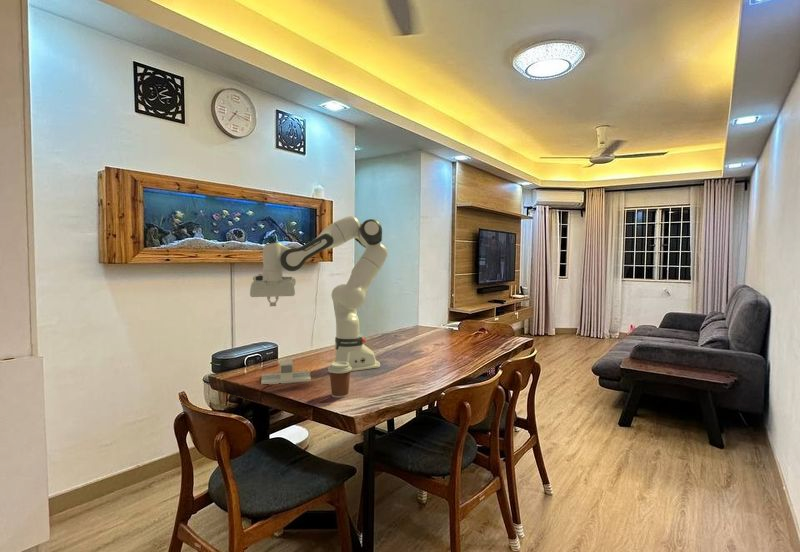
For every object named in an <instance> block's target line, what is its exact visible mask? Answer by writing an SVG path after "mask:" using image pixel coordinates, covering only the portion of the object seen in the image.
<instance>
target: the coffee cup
mask: <svg viewBox="0 0 800 552" xmlns="http://www.w3.org/2000/svg"><path fill="white" fill-rule="evenodd" d="M327 371H328V372H329V380H330V391H331V397H333V398H336V399H337V398H340V399H342V398H346V397H348V396H349V393H350V380H351V379H350V376H351V372H353V371H352V367H350V365H349V363H348V362H334V361H333V362H332V363H330V366H329V367H327Z"/></svg>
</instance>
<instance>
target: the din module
mask: <svg viewBox="0 0 800 552" xmlns="http://www.w3.org/2000/svg"><path fill="white" fill-rule="evenodd" d="M293 364H294V363H293V358H292V357H290V358H289V357H287V358H279V373H280V380H289V379H293V372H294V371H293V370H294V365H293Z"/></svg>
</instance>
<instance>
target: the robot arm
mask: <svg viewBox="0 0 800 552" xmlns="http://www.w3.org/2000/svg"><path fill="white" fill-rule="evenodd" d="M352 239H354V240H355V241H356V242H357V243H359V245H361V246H362V247H363V248H365V250H364V252H363V253H362V255H361V256H360V258H359V259H358V261H357V262H356V263H355V265H354V266H353V268H352V269H351V272H350V273H351V274H350V276H349V278H348V281H347V283H346V284H345V283H344V284H339V285H337V286H335V287H333V289H332V292H331V299H332V302H333V303H332V304H333V309H334V316H335V331H336V332H335V335H336V336H335V339H334V348H335V354H334V355H335V356H334V360H333V362H348V363H349V365H350V367H352V371H351V372H355V371H363V370H369V369H377V368H380V367H381V363H380V361H378V360H377V359H376V356H375V355H376V354H375V353H374V351H373V350H372V349H371V348H370V347H368V346H366V342H367V340H366V338H363V337H362V336H360V319H359V316H358V312H357V309H360V308H361V307H363V306H364V304H365V303H366V296H367V294H368V291H369V289H370V286H371V284H372V282H373V281H374V279H375V278H376V276H377V275H378V273H379V271H380V270H381V269H382V267H383V265H384V263H385V262H386V259H387V257H388V254H389V252H388V249H387V247H386V246H385V245H383V243H381V242H382V241H383V228H382V224H381V223H380V222H379V221H377V220H376V219H373V218H371V219H366V220H365V221H363V222H362V223H361V222H360V221H359V219H358V218H357V217H356V216H354V215H348V216H345V217H342V218H341V219H338V220H336V221H334V222H332V223H331V224H329V225H328V226H326V227H325V228H324V229H323V230H321V232H320V233H319V234H318V236H316V237H315V238H314V239H313V240H311V241H309V242H307V243H306V244H304V245H302V246H300V247H297V248H290V247H288V246H286V245H284V244H282V243H281V242H280V241H275V242H269V243H266V244H265V245H264V246H263V249H262V264H263V268H262V273H259V274H257V275H254V276H252V282H251V284H250V290H249V295H250V297H251V298H266V299H267V301H268V302H269V307H277V302H278V301H279V299H280V297H294V296H295V295H296V290H295V289H296V288H295V287H296V282H297V281H296V279H295V277H293V276H283V269H284V270H286V271H288V272H296V271H298V270H299V269H301V268H302V267H303V265H304V264H305V262H306V261H308V260H309V259H310V258H312V257H314V256H316V255H317V254H319V253H320V252H323V251H325V250H330V249H334V248H337V247H339V246H342V245H344V244H345V243H346V242H349V241H350V240H352ZM271 297H275V301H274V302H273V301H272V302H271Z"/></svg>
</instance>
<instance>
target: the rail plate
mask: <svg viewBox="0 0 800 552" xmlns="http://www.w3.org/2000/svg"><path fill="white" fill-rule="evenodd" d="M260 380H261V382H260V383H261V386H263V385H262V384H269V385H278V384H279V383H281V384H291V383H292V384H293V383H302V382H303V383H304V382H312V378H311V371H310V370H302V371H301V370H299V371H293V379H289V380H280V372H274V373H273V372H271V373H261V379H260Z"/></svg>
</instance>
